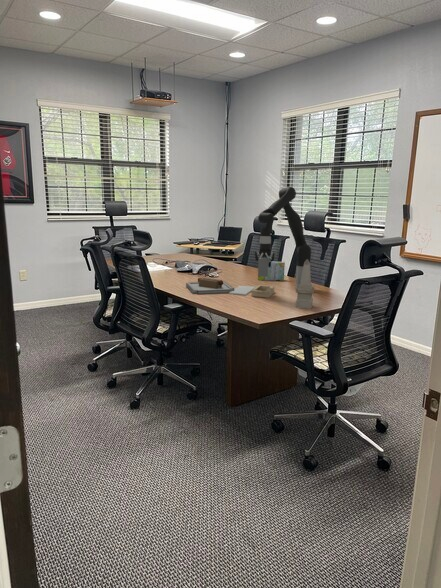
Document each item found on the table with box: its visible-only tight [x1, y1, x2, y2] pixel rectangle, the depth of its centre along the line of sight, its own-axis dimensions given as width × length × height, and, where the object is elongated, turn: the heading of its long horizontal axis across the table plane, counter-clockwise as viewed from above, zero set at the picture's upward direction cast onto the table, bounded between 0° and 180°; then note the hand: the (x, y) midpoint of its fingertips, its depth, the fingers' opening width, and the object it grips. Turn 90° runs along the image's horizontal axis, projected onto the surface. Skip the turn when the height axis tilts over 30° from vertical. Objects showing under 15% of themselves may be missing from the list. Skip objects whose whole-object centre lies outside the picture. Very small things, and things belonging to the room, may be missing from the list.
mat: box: [228, 285, 256, 296], centre depth 313 cm, size 12×26×1 cm, turn 161°
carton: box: [250, 284, 276, 299], centre depth 304 cm, size 12×21×4 cm, turn 161°
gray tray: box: [185, 277, 235, 295], centre depth 316 cm, size 30×30×8 cm
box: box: [257, 256, 272, 277], centre depth 300 cm, size 6×12×12 cm, turn 161°
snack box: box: [257, 261, 286, 282], centre depth 355 cm, size 21×6×15 cm, turn 84°
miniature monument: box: [295, 259, 315, 310], centre depth 270 cm, size 10×10×30 cm
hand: (264, 266), depth 300 cm, fingers closed on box, 6 cm apart
